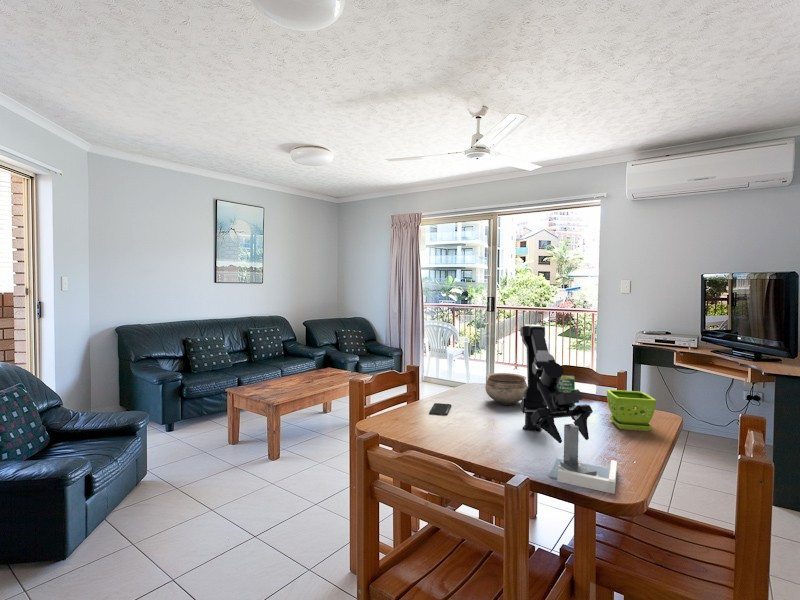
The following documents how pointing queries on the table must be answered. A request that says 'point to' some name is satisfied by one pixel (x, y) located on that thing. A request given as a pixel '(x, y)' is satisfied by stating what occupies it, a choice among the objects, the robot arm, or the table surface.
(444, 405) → the phone
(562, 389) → the coffee box
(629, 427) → the flower pot
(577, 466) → the bracket
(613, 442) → the table surface
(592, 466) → the mat
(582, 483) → the walls
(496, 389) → the cooking pot
